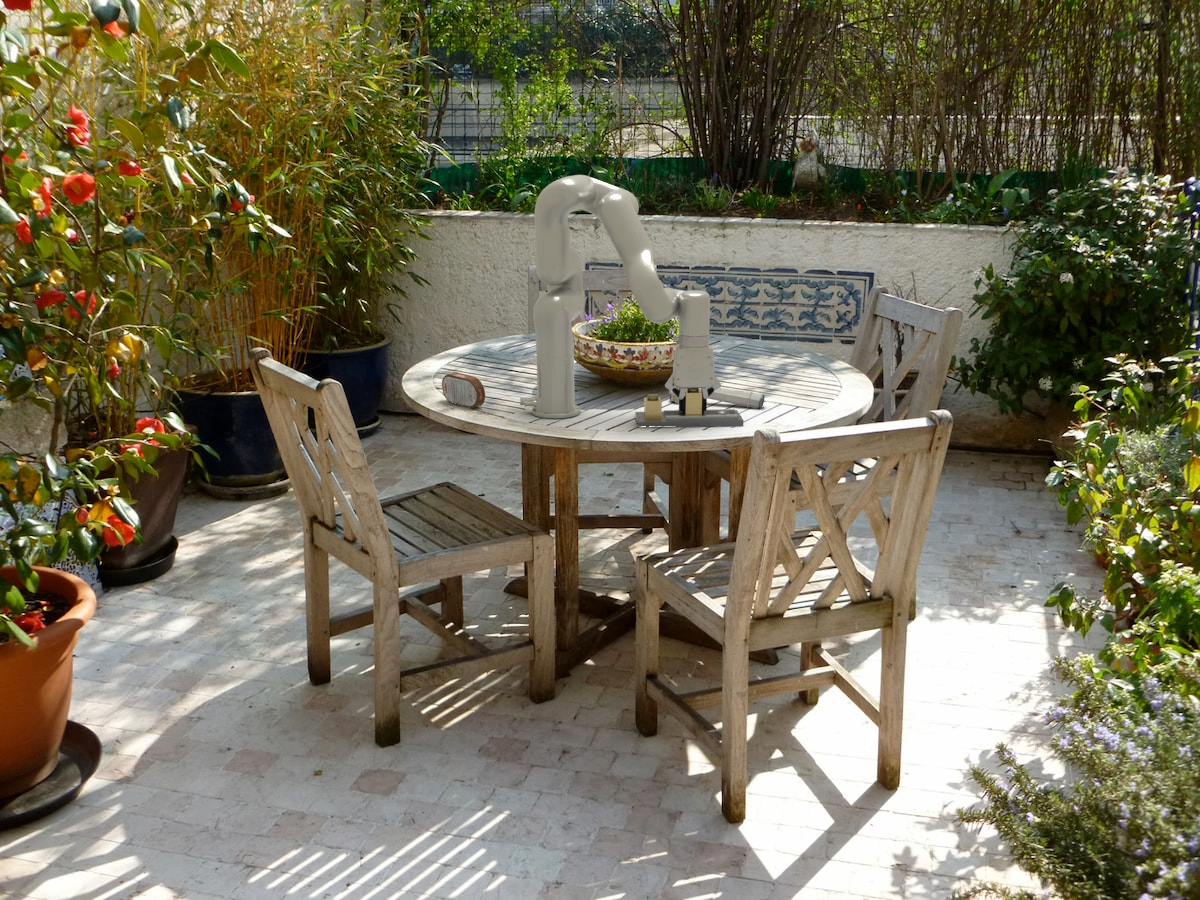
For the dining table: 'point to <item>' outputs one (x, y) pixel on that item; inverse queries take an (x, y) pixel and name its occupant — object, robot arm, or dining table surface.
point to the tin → (463, 389)
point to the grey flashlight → (731, 397)
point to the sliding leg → (693, 401)
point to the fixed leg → (652, 407)
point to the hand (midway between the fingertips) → (692, 412)
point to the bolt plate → (693, 419)
